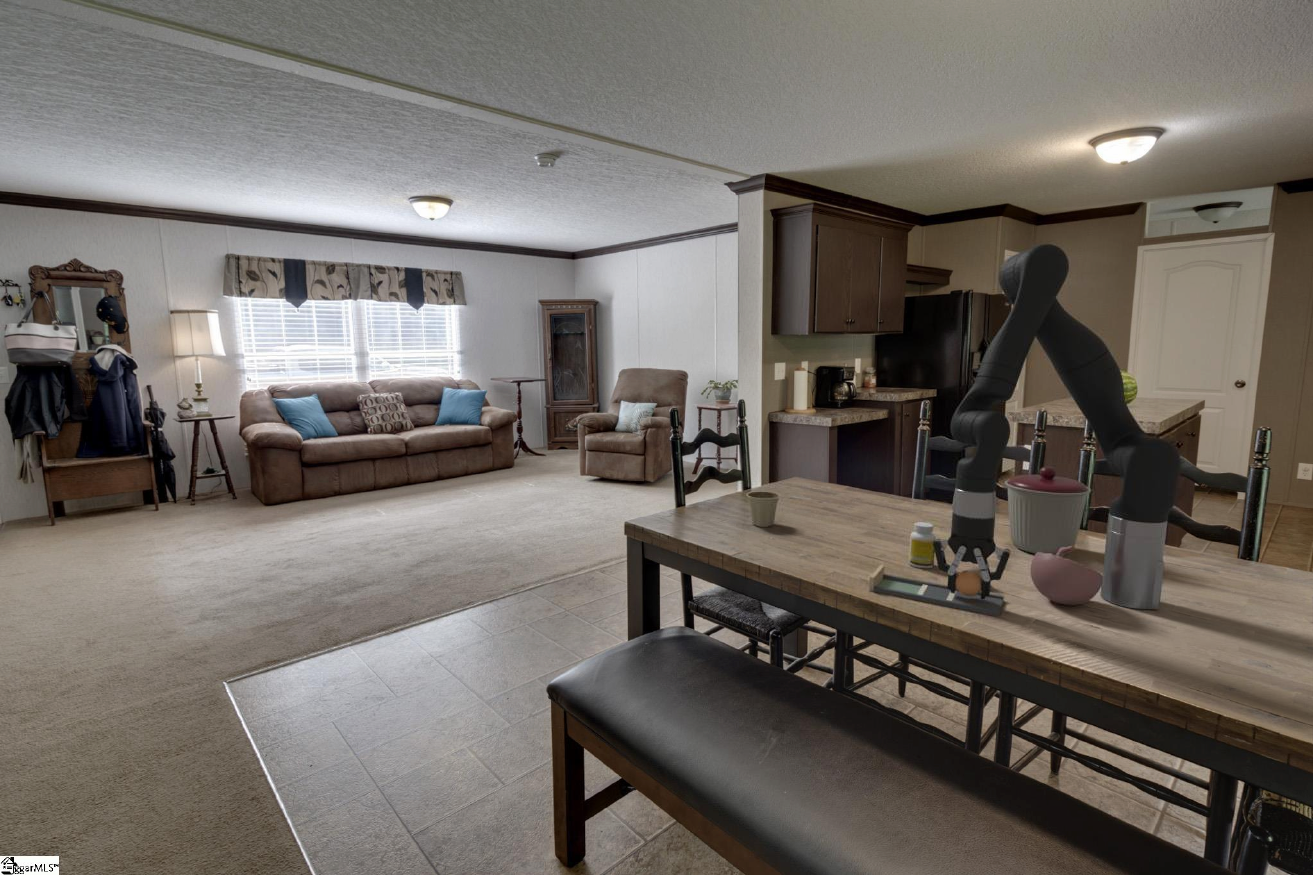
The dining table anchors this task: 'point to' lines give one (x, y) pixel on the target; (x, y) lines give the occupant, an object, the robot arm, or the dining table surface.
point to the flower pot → (763, 507)
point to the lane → (933, 593)
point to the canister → (1045, 511)
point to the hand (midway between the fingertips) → (967, 594)
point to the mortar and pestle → (1064, 578)
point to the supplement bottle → (922, 546)
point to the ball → (968, 583)
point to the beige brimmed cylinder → (975, 570)
